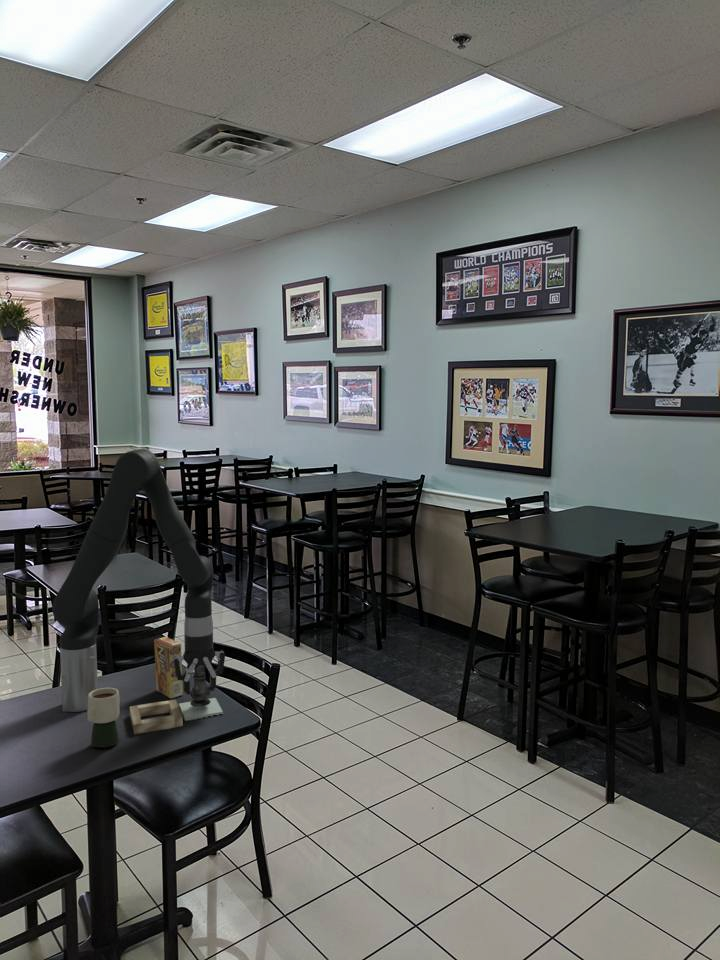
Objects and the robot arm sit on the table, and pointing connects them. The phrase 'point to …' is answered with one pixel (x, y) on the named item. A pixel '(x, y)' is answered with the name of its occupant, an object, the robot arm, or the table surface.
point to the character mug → (103, 716)
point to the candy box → (167, 667)
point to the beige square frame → (155, 723)
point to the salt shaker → (200, 688)
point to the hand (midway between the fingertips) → (199, 691)
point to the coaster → (200, 710)
